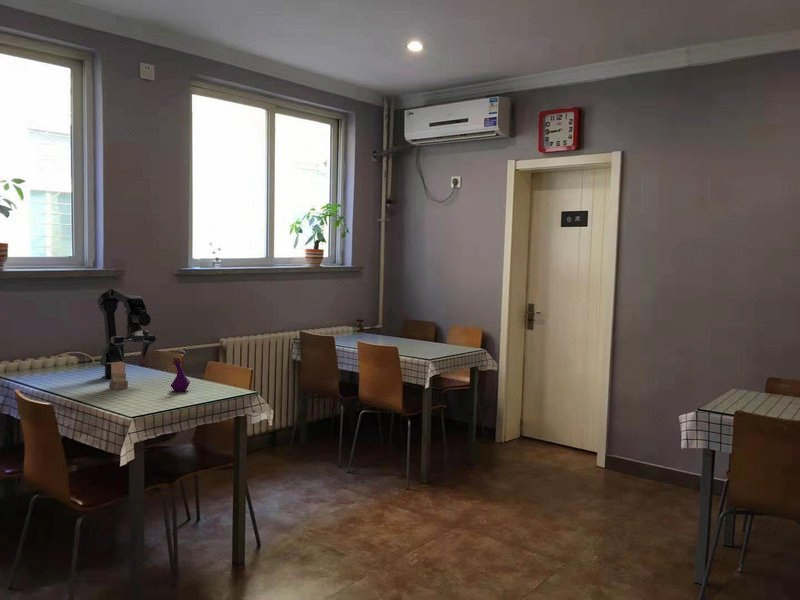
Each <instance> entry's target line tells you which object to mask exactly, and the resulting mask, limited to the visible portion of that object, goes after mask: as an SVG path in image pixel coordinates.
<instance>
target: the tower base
mask: <svg viewBox="0 0 800 600" xmlns="http://www.w3.org/2000/svg"><path fill="white" fill-rule="evenodd" d="M108 386H109V387H108V388H109V389H110V390H115V391H119V390H124V389H128V387H129V381H128V380H126V381H123V382H113V381H112V380H109V383H108Z"/></svg>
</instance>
